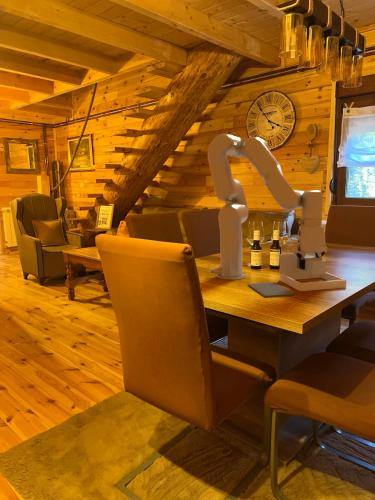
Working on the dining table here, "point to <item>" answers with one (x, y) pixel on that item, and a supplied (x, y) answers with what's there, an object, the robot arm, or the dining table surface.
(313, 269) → the box
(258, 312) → the dining table surface
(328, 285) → the carton
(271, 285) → the slate mat
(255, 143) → the robot arm
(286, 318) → the dining table surface
